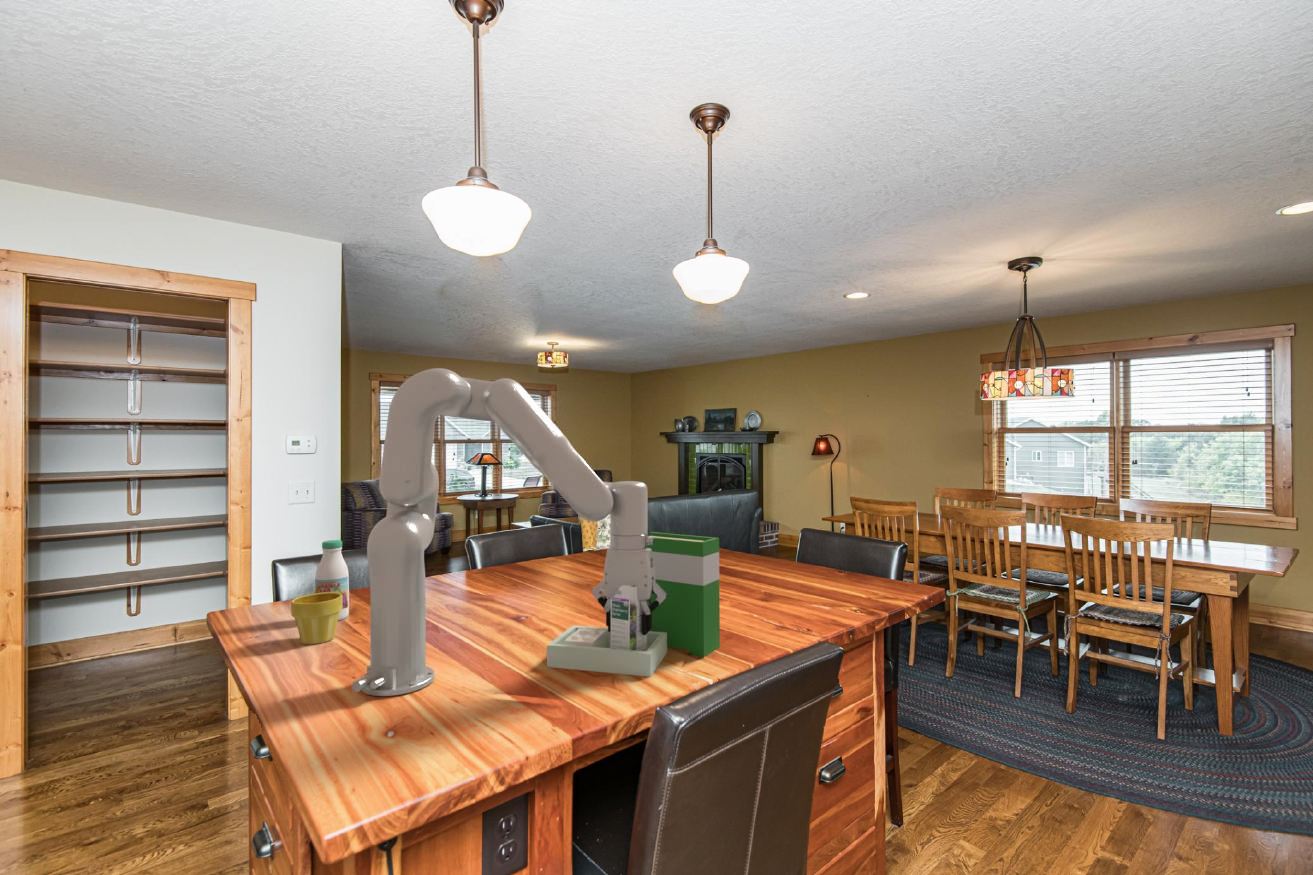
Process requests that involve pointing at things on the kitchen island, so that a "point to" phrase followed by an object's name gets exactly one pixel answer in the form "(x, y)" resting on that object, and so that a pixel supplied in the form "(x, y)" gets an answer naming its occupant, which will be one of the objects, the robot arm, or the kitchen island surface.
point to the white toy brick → (587, 638)
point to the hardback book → (687, 591)
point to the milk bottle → (333, 574)
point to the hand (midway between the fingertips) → (628, 630)
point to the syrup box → (627, 620)
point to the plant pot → (317, 616)
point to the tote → (607, 655)
